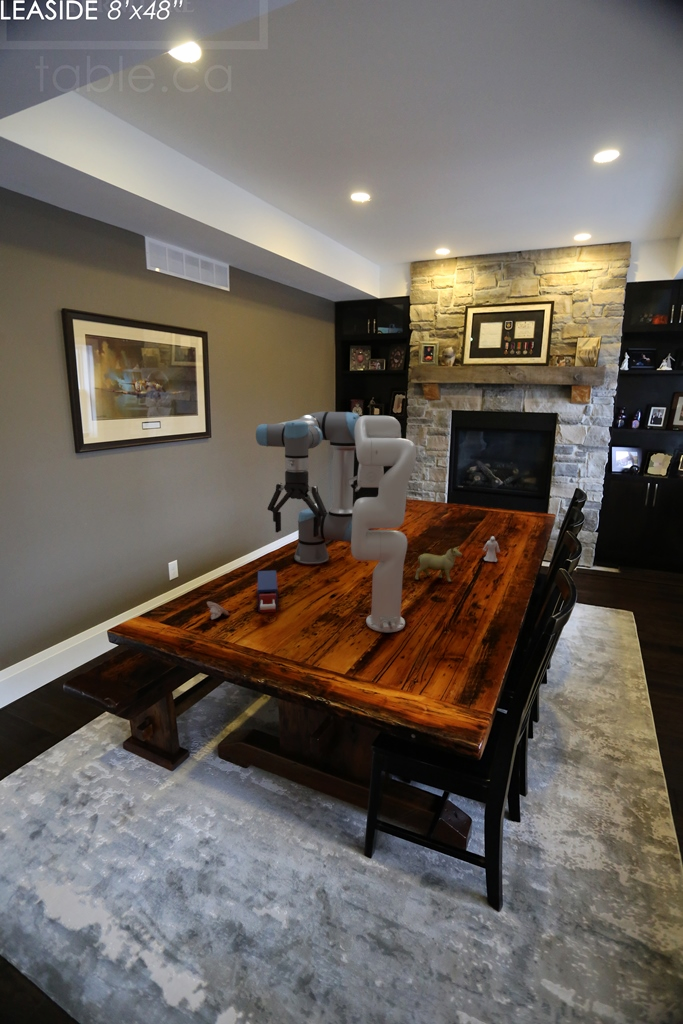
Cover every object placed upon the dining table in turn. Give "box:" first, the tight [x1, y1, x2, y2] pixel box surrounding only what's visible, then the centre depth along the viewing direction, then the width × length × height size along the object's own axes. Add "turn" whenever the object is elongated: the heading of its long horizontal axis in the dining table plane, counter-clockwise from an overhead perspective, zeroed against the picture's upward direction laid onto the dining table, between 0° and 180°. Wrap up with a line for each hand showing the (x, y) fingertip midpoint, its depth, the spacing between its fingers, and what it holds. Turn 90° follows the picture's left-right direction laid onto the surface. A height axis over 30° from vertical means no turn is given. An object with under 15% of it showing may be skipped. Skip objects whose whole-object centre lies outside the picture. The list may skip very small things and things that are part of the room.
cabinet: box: [256, 570, 279, 613], centre depth 178 cm, size 18×7×8 cm, turn 9°
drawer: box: [259, 592, 277, 613], centre depth 172 cm, size 22×6×6 cm, turn 9°
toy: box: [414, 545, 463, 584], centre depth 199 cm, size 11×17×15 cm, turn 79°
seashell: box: [206, 600, 230, 620], centre depth 164 cm, size 8×5×8 cm
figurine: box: [482, 535, 501, 563], centre depth 223 cm, size 8×8×12 cm
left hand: (296, 533), depth 166 cm, fingers open, 13 cm apart
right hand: (369, 500), depth 198 cm, fingers open, 9 cm apart
